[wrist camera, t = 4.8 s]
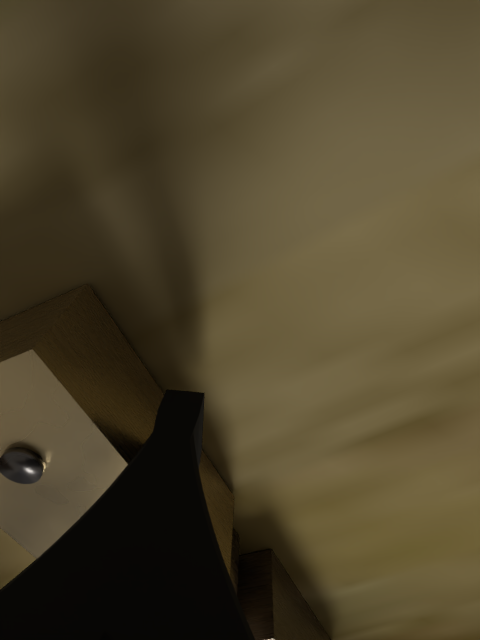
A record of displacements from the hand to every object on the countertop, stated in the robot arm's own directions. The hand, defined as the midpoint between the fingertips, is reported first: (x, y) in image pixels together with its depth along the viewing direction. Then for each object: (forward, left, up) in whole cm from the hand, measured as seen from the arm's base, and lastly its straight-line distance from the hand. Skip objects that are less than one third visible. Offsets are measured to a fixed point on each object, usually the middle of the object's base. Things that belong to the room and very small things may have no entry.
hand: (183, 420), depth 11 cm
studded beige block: (-3, -1, -2) cm, 4 cm away
